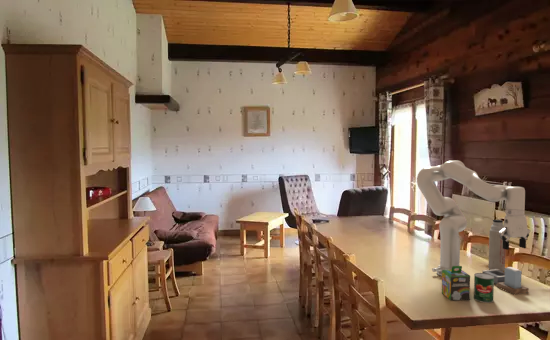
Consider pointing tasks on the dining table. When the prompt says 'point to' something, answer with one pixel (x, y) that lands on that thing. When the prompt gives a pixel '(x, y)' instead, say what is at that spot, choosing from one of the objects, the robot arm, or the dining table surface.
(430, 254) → the dining table surface
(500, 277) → the port
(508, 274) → the light blue block
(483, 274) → the canned tomato
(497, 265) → the thermos bottle
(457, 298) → the chalk box
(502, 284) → the brown rectangular tray
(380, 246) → the dining table surface
